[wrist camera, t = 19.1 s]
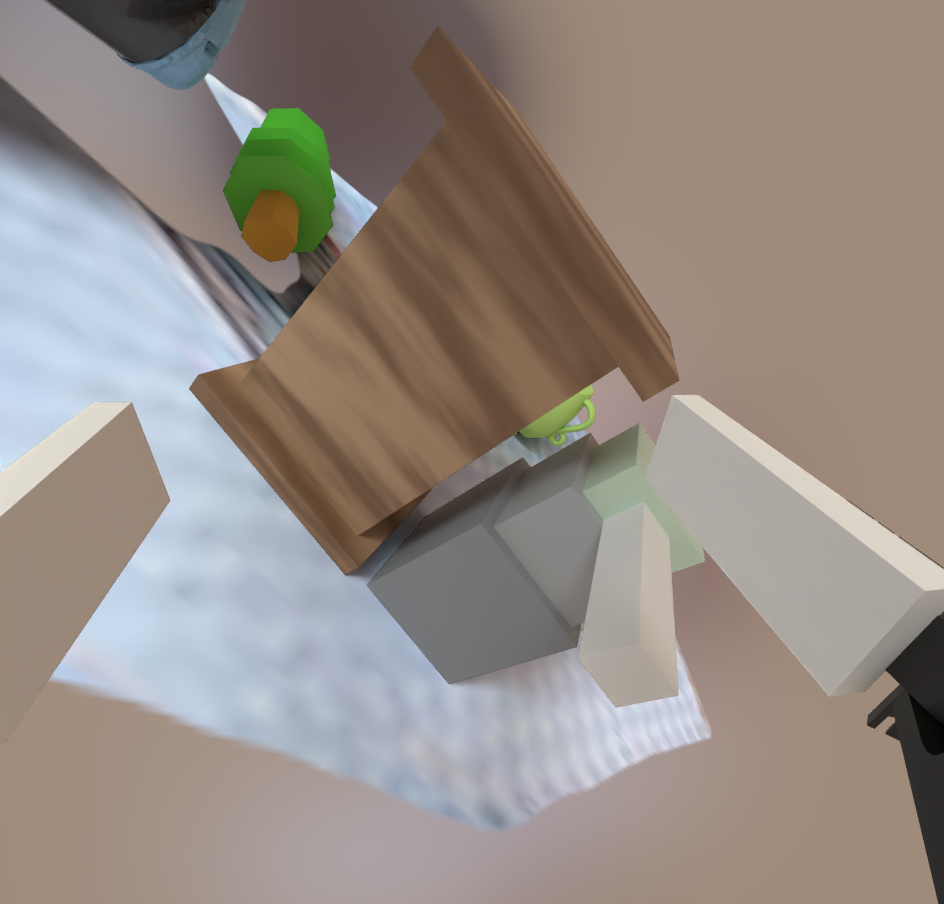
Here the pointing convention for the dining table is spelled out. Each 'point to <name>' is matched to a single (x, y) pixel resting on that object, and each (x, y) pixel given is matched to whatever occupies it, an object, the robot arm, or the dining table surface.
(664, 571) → the handled block
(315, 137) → the decorative tree
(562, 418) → the teapot
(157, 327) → the dining table surface
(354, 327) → the walnut stand
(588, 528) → the stepped grey block
